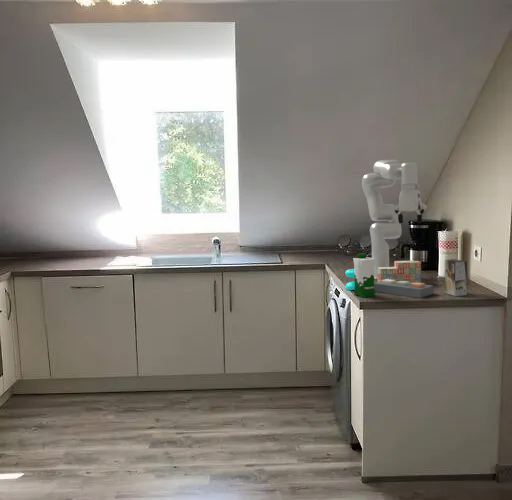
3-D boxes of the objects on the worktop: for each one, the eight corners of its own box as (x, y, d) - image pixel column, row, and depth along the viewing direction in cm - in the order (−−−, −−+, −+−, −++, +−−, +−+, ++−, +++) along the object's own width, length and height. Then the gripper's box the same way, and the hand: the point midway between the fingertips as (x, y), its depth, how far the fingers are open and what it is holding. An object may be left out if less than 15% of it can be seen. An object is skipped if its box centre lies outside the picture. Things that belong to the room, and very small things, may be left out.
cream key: (381, 286, 265) (381, 280, 265) (386, 284, 268) (386, 278, 268) (389, 287, 261) (389, 281, 261) (395, 285, 265) (395, 280, 264)
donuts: (347, 271, 265) (343, 268, 275) (347, 291, 266) (343, 288, 276) (367, 271, 265) (362, 268, 275) (367, 290, 266) (363, 287, 276)
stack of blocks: (380, 286, 278) (380, 263, 276) (377, 284, 284) (377, 261, 282) (421, 285, 278) (421, 261, 277) (417, 283, 284) (417, 260, 283)
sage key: (395, 288, 259) (395, 282, 259) (400, 286, 263) (400, 280, 262) (404, 289, 256) (404, 283, 255) (409, 287, 259) (409, 281, 259)
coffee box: (467, 295, 248) (467, 261, 247) (455, 296, 247) (455, 262, 245) (455, 291, 257) (456, 258, 256) (443, 292, 256) (444, 259, 254)
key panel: (372, 291, 265) (372, 283, 264) (386, 287, 273) (386, 280, 272) (420, 297, 246) (420, 289, 245) (433, 293, 254) (433, 285, 254)
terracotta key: (409, 290, 253) (409, 283, 253) (415, 288, 257) (415, 282, 256) (419, 291, 250) (419, 284, 249) (424, 289, 253) (424, 283, 253)
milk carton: (366, 293, 261) (366, 252, 259) (378, 296, 253) (377, 254, 251) (351, 295, 257) (351, 253, 255) (362, 298, 249) (362, 255, 247)
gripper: (429, 187, 258) (430, 222, 260) (396, 189, 270) (397, 223, 271) (422, 187, 253) (423, 223, 254) (389, 189, 264) (390, 223, 266)
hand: (409, 223), depth 263 cm, fingers open, 9 cm apart
